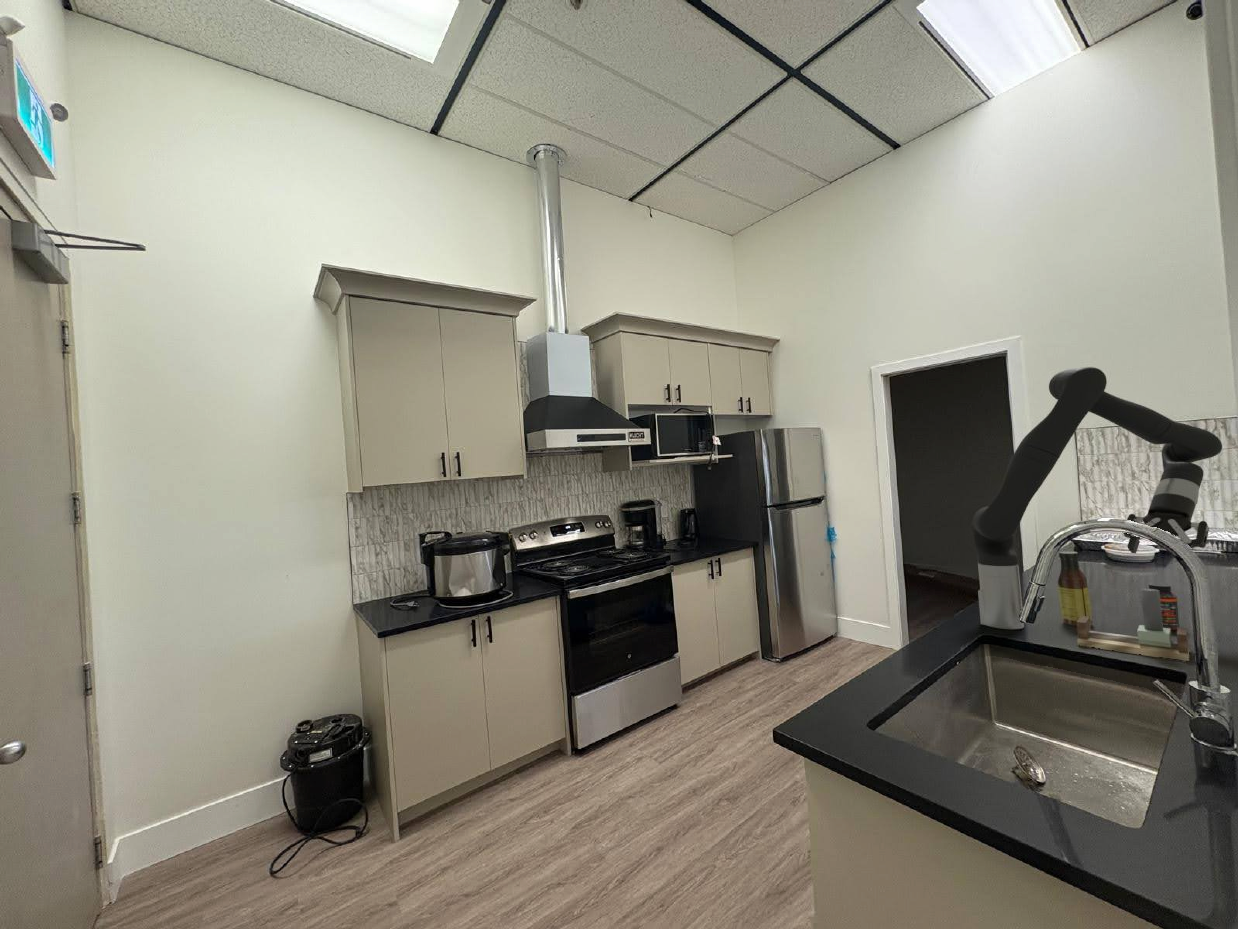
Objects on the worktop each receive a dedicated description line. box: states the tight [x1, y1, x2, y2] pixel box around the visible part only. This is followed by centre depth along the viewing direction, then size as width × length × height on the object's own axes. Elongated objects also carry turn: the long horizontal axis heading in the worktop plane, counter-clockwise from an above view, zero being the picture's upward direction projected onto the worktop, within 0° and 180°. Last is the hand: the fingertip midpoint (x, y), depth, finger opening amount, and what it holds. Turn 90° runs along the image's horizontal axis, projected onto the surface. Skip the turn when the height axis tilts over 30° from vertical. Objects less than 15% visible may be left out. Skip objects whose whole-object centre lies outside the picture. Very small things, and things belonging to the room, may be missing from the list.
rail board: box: [1076, 616, 1191, 662], centre depth 120 cm, size 18×9×6 cm, turn 41°
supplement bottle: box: [1148, 582, 1181, 631], centre depth 134 cm, size 6×6×11 cm
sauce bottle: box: [1057, 550, 1093, 627], centre depth 141 cm, size 7×6×20 cm
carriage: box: [1136, 588, 1172, 648], centre depth 117 cm, size 5×6×12 cm
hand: (1156, 555), depth 125 cm, fingers open, 8 cm apart
